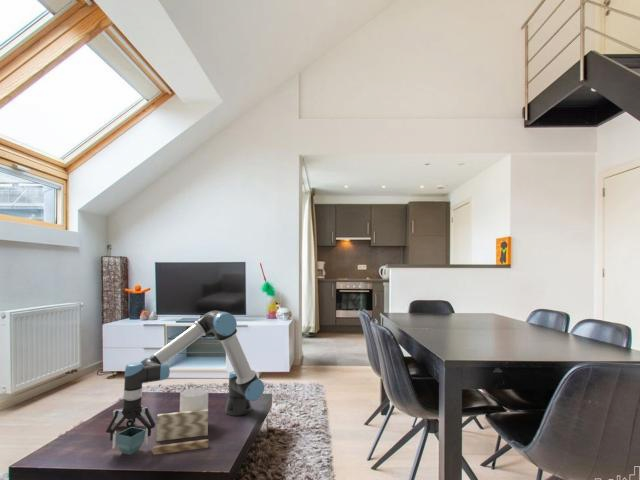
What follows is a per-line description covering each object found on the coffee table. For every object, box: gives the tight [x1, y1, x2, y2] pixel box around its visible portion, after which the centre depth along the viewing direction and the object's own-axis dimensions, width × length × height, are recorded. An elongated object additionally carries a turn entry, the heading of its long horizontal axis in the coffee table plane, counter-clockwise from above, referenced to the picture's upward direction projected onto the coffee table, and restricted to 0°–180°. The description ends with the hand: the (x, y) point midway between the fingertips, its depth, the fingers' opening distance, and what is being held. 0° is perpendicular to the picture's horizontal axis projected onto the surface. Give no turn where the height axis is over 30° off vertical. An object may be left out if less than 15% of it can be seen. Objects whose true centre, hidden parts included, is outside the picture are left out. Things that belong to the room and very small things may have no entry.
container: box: [179, 387, 209, 412], centre depth 202 cm, size 14×14×18 cm
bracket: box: [112, 405, 146, 428], centre depth 202 cm, size 4×10×15 cm
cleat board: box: [152, 408, 209, 456], centre depth 183 cm, size 24×16×12 cm, turn 107°
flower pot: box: [116, 426, 146, 456], centre depth 174 cm, size 9×9×9 cm
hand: (130, 445), depth 174 cm, fingers open, 13 cm apart
